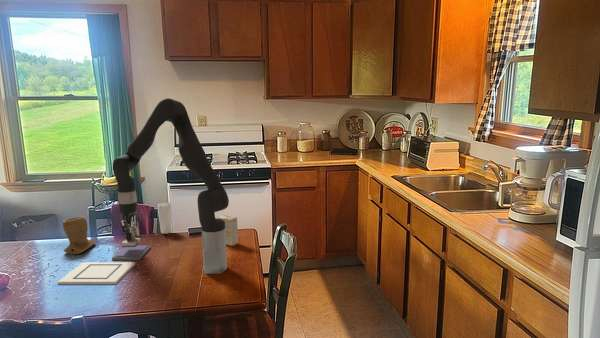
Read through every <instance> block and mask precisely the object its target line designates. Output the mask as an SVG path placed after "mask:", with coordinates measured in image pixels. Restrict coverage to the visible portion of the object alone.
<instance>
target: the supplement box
mask: <svg viewBox="0 0 600 338" xmlns="http://www.w3.org/2000/svg"><path fill="white" fill-rule="evenodd" d="M217 219H222V220H223V221H224V222H225V234H226V246H228V247H234V246H236V245H238V244H239V235H238V234H239V229H238V216H232V215H228V214H227V215H226V214H223V215H220V216H218V217H217Z"/></svg>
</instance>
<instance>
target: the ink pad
mask: <svg viewBox="0 0 600 338" xmlns="http://www.w3.org/2000/svg"><path fill="white" fill-rule="evenodd" d="M151 248H152V245H137V246H136V247H121V249H120V250H119V251H118V252H116V254H114V255H113V256H112V257H111V260H112V261H140V260H141V259H142V258H143V257H144V255H146V254H147V253H148V251H150V250H151Z"/></svg>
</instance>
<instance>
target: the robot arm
mask: <svg viewBox="0 0 600 338" xmlns="http://www.w3.org/2000/svg"><path fill="white" fill-rule="evenodd" d="M165 122H170V123H171V124H172V125H173V127H174V129H175V132H176V133H177V137H178V153H179V155H180V157H181V159H182V162H183V164H184V166H185V167H186V168H187V169H188V170H189V171H190V173H192V174H193V175H195V176H196V177H198V178H199V179H200V180H201V181H202V182H203V183H204V184H205V186H206V188H207V189H205V190H201V191H200V192H199V194H198V195H197V209H198V220H199V221H198V222H199V224H200V226H201V227H200V229H201V243H202V245H201V246H202V259H203V260H202V262H203V263H202V264H203V272H204V274H205V275H221V274H222V273H224V272H226V271H227V269H228V263H227V261H228V259H227V257H228V256H227V245H226V234H225V222H224V221H223V220H222V219H218V217H217V218H216V215H215V213H217V212H220V211H223V210H226V209H227V208H228V206H229V203H230V202H229V201H230V200H229V195H228V194H227V191H226V189H225V187H224V185H222V182H221V181H220V180H219V178H218V176H217V174H216V172H215V171H214V169H213V166H212V165H211V162H210V160H209V158H208V157H207V154H206V152H205V150H204V148H203V146H202V144H201V142H200V140H199V137H198V136H197V134H196V132H195V129H194V128H193V125H192V122H191V120H190V116H189V114H188V111H187V108H186V107H185V105H184V104H183V103H182V102H181V101H178V100H176V99H173V98H169V97H165V98H161V100H159V102H158V103H157V104H156V105H155V107H154V108H153V110H152V112H151V114H150V115H149V118H148V119H147V120H146V121H145V124H144V126H143V128H142V129H141V130H140V132H138V134H137V135H136V137H135V138H134V139H133V140H132V141H131V142H130V143H129V145H128V147H127V151H126V153H124V154H123V155H121V156H117V157H115V159H113V162H112V173H113V175H114V178H115V180H116V182H117V200H118V201H117V202H118V212H119V213H120V214H122V220H121V221H120V222H119V225H120V228H121V230H122V233H123V234H125V239H126V240H127V241H131V240H132V235H131V227H132V226H134V232H135V229H136V226H137V222H139V220H138V219H139V213H138V212H137V211H139V209H138V207H139V206H138V198H137V197H138V195H137V192H136V191H137V190H136V181H135V178H134V177H132V176H131V174H130V172H131V170H132V171H133V170H134V169H135V168H136V167H137V166H138V164H139V162H140V160H141V159H142V157H143V156H144V155H145V154H146V153H147V152H148V151H149V149H151V147H152V146H153V144H154V142H155V139H156V136H157V135H156V134H157V133H158V130H159V128H160V127H161V126H163V124H165ZM128 227H129V228H128ZM135 237H137V235H135Z"/></svg>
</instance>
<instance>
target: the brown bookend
mask: <svg viewBox="0 0 600 338" xmlns="http://www.w3.org/2000/svg"><path fill="white" fill-rule="evenodd" d="M62 228H63V231H64V233H65V234H66V237H67V240H68V241H69V245H68V246H66V248H64V249H63V252H65V253H67V254H70V255H79V254H81V253H83V252H84V251H86V250H88V249H89V248H91V247H92V246H93V245H94V244H96V240H95V239H92V240H91V239H88V229H89V228H88V222H87V218H86V217H85V216H83V215H82V216H75V217H71V218H67V219H64V220H62Z"/></svg>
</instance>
